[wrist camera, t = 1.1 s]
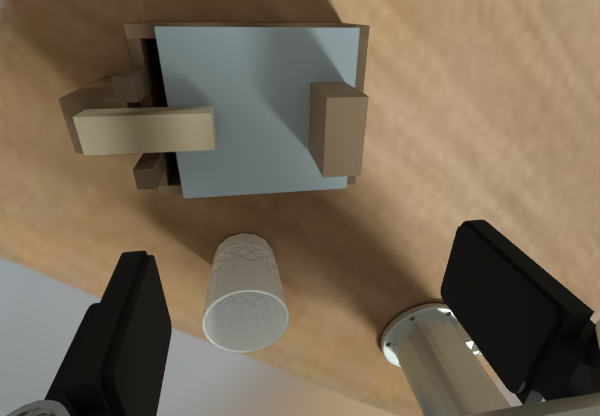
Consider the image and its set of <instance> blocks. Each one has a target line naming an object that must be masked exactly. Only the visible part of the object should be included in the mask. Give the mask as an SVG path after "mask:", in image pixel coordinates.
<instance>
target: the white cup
mask: <svg viewBox="0 0 600 416" xmlns="http://www.w3.org/2000/svg"><path fill="white" fill-rule="evenodd" d="M289 319H290V316H289V311H288V307H287V303H286V298H285V294H284V290H283V286H282V282H281V278H280V275H279V271H278V267H277V264H276V262H275V258H274V254H273V250H272V248H271V247H270V245H269V244H268V242H267V241H266V240H264V239H263V238H261V237H259V236H257V235H255V234H245V233H241V234H237V235H234V236H230V237H228V238H227V239H225V240H224V241H223V242H222V243H221V244H219V246H218V248H217V250H216V252H215V255H214V260H213V265H212V269H211V273H210V278H209V283H208V289H207V295H206V302H205V308H204V314H203V320H202V328H203V332H204V334H205V336H206V337H207V339H208V340H209V341H210V342H211V343H213V344H214V345H216V346H217V347H219V348H221V349H224V350H227V351H232V352H251V351H256V350H260V349H263V348H265V347H267V346H269V345H271V344H273V343H274V342H276V341H277V340H278V339H279V338H280V337H281V336H282V335H283V334H284V333H285V331H286V329H287V327H288V325H289Z"/></svg>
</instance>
